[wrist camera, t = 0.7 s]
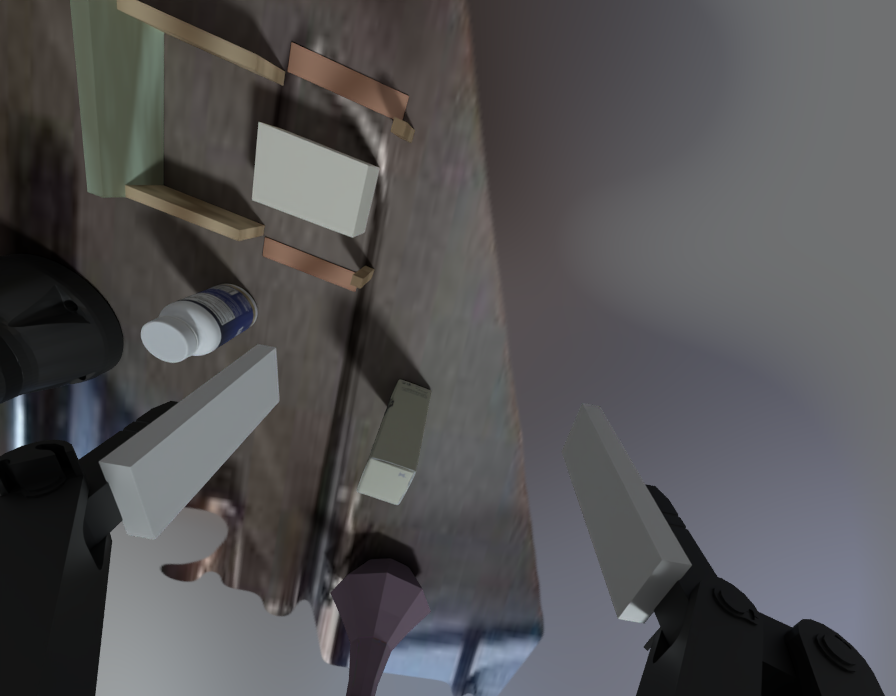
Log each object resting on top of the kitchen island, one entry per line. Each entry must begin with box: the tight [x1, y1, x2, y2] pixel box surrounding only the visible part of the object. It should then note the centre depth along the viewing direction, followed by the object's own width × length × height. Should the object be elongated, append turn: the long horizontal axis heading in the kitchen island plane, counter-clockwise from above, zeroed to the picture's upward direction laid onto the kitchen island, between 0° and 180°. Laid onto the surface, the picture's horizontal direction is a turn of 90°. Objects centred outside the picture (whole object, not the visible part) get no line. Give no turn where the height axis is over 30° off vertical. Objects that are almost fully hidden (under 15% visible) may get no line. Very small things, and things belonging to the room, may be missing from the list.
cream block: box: [252, 122, 380, 238], centre depth 30 cm, size 9×6×4 cm, turn 70°
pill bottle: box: [141, 284, 257, 362], centre depth 33 cm, size 5×5×10 cm
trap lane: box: [70, 0, 415, 292], centre depth 28 cm, size 23×18×6 cm
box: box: [357, 379, 431, 505], centre depth 36 cm, size 5×4×13 cm
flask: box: [331, 558, 431, 696], centre depth 49 cm, size 16×16×20 cm
